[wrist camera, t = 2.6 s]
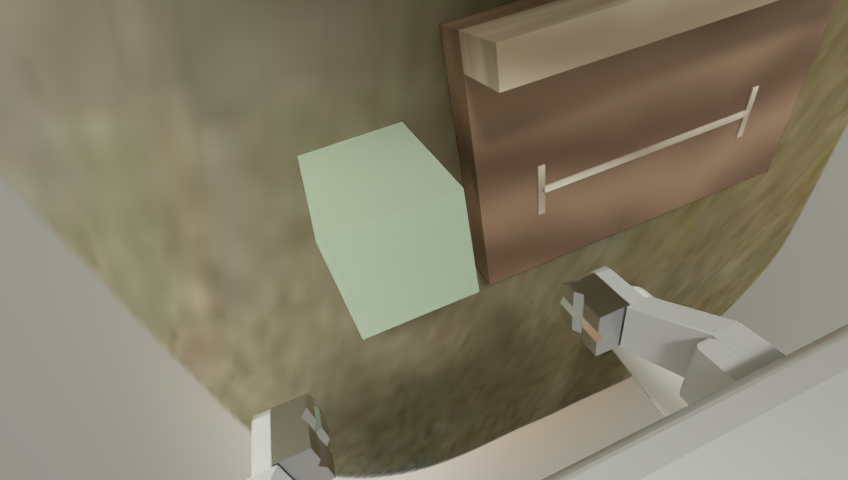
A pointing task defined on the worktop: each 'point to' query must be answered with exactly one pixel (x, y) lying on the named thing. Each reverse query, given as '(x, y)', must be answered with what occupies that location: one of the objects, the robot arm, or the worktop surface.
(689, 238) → the worktop surface
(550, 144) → the walnut board
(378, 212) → the block
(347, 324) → the worktop surface
